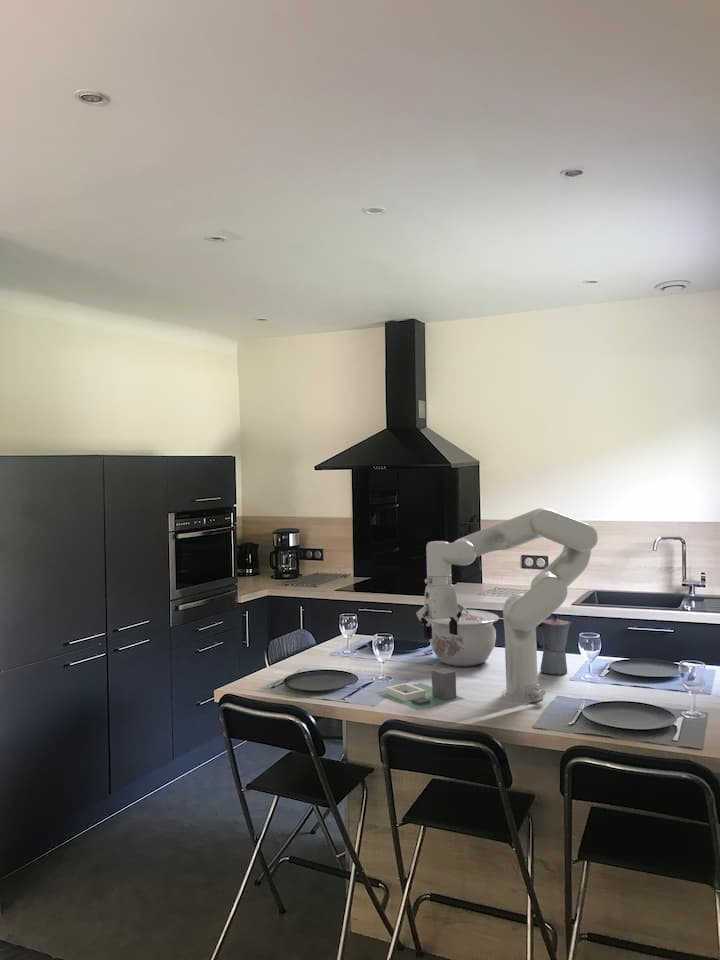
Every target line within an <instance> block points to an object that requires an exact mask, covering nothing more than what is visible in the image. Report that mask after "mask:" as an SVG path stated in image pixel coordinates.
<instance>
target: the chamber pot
mask: <svg viewBox="0 0 720 960" xmlns="http://www.w3.org/2000/svg"><path fill="white" fill-rule="evenodd" d="M499 619H500V616H499V615H497V614H496V613H493V612H490V611H484V610H478V609H467V608H466V607H464V606H463V611H462V613H461V616H460V618H459V621H458V622H457V635H453V634H450V633H449V621H451V620H450V618H445V619H438V620H435V619H433V621H432V623H431V624H430V626H432V639H428V640H429V643H430V647H431V650H432V651H433V652H434V654H435V657H436V659H438V660H439V661H440V662H441V663H443V664H446V665H449V666H452V667H462V668H463V667H464V668H465V666H466V667H474V665H475V666H479V665H481V664H483V663H485V662H487V660H488V659H489V658H490V655H491V654H492V652H493V650H494V648H495V646H496V645H495V644H496V640H497V630H496V628H495V627H494V625H493V623H495V622H497V621H499Z"/></svg>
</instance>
